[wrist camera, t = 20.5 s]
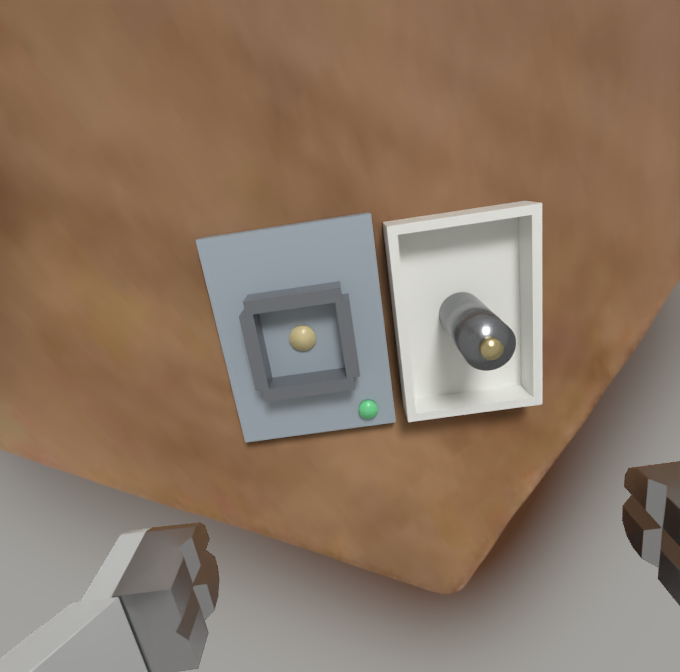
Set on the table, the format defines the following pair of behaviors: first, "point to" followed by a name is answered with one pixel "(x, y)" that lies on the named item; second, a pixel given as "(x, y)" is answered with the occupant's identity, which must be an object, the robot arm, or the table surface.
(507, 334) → the cell
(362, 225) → the tester cradle
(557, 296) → the table surface
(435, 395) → the tray
